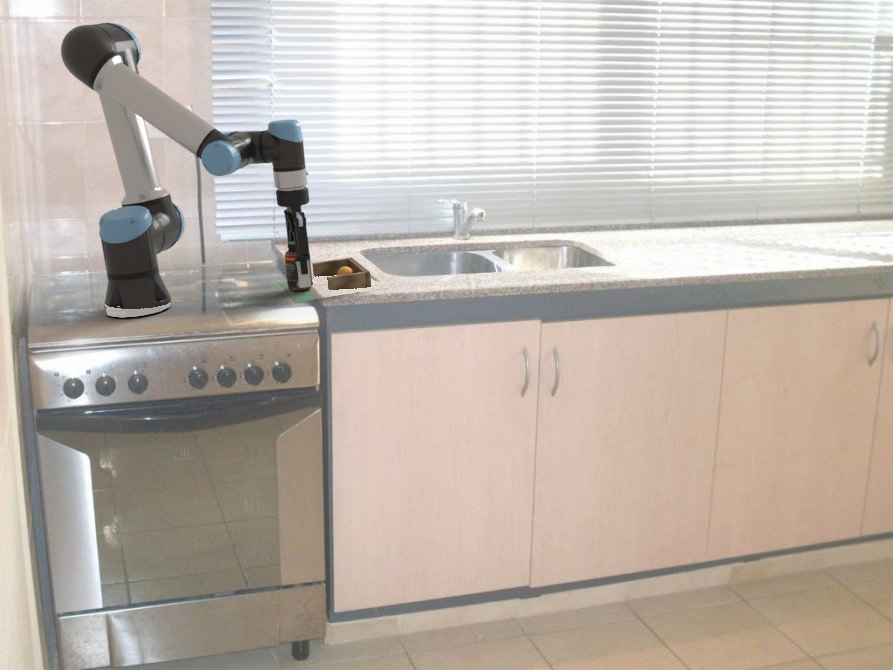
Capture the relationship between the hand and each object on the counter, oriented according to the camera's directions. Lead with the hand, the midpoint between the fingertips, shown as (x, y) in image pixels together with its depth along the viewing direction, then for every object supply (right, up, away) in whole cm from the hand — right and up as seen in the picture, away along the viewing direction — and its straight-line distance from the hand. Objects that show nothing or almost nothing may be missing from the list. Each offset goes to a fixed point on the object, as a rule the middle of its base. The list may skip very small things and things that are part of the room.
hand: (302, 283), depth 266 cm
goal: (+9, 0, +3) cm, 9 cm away
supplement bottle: (0, -1, 0) cm, 1 cm away
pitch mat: (+7, -1, +2) cm, 7 cm away
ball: (+12, +2, +4) cm, 12 cm away
